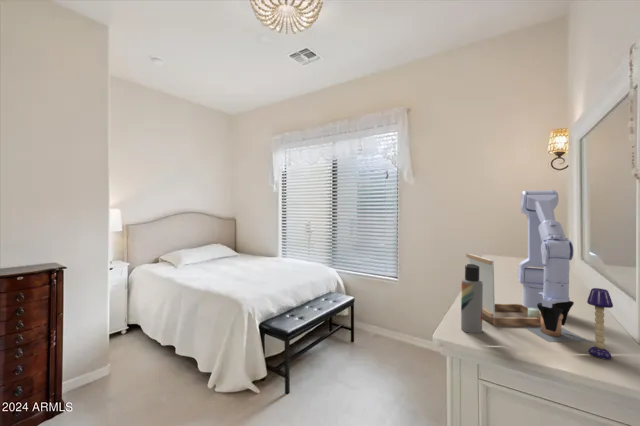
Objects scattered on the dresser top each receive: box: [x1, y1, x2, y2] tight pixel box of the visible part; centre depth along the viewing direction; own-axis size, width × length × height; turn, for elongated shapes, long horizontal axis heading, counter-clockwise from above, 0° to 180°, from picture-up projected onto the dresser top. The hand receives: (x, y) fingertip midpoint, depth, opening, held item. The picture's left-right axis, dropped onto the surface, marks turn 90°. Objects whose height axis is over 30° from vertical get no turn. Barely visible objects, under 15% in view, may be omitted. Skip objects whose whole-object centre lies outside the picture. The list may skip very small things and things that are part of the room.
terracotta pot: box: [539, 310, 563, 336], centre depth 83 cm, size 5×5×6 cm
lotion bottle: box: [460, 263, 483, 334], centre depth 85 cm, size 6×6×20 cm
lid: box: [465, 253, 496, 318], centre depth 95 cm, size 18×14×1 cm
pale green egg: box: [528, 308, 541, 318], centre depth 91 cm, size 4×4×4 cm
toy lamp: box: [586, 287, 614, 360], centre depth 71 cm, size 5×5×17 cm
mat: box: [522, 326, 592, 343], centre depth 82 cm, size 12×10×1 cm
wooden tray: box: [482, 303, 541, 327], centre depth 95 cm, size 18×14×3 cm
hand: (555, 327), depth 82 cm, fingers open, 7 cm apart
